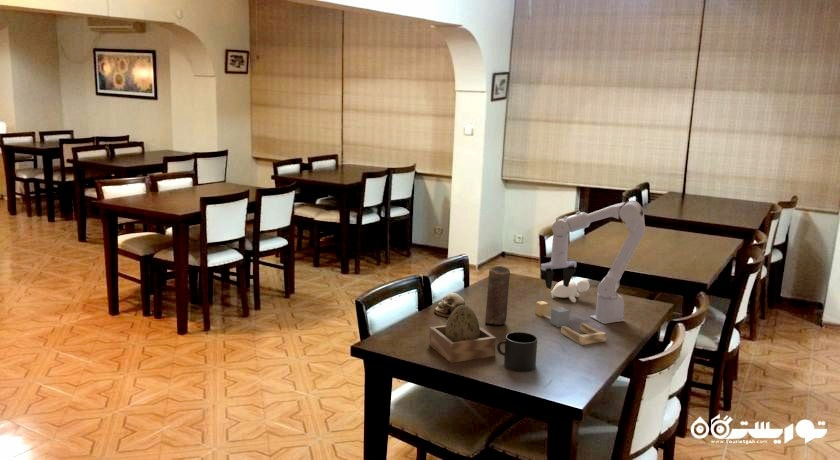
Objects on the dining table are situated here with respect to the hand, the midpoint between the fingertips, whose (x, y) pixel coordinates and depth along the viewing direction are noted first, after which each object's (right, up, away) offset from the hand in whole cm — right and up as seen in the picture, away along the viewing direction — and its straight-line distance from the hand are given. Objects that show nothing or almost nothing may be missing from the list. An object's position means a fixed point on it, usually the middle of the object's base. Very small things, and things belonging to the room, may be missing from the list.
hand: (557, 287), depth 260 cm
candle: (-24, -12, -13) cm, 30 cm away
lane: (+4, -15, -23) cm, 28 cm away
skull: (-40, -10, -3) cm, 41 cm away
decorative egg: (-38, -17, -38) cm, 56 cm away
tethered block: (-4, -11, -7) cm, 14 cm away
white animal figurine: (+8, -6, +18) cm, 21 cm away
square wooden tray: (-38, -17, -38) cm, 56 cm away
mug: (-22, -20, -48) cm, 57 cm away
